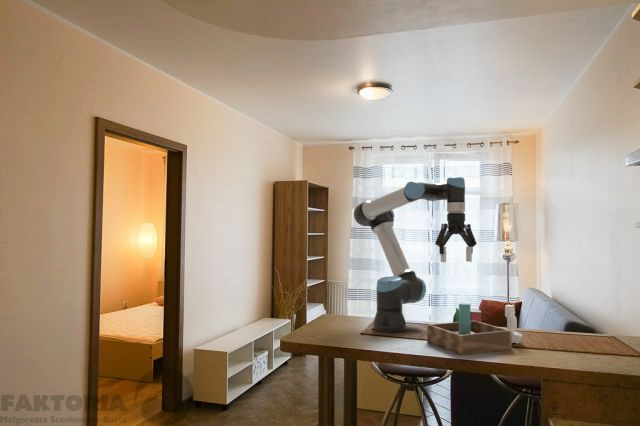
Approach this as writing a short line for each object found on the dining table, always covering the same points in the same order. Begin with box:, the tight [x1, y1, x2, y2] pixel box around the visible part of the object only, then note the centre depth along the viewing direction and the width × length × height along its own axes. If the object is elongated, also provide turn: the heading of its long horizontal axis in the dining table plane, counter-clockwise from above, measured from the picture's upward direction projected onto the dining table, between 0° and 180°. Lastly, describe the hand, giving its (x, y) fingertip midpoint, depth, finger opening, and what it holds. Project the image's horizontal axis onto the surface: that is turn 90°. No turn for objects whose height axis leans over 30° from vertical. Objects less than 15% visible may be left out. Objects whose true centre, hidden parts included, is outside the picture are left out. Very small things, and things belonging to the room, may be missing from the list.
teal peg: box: [458, 302, 471, 335], centre depth 170 cm, size 4×4×15 cm
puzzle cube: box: [455, 307, 483, 323], centre depth 190 cm, size 10×10×10 cm
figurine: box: [504, 304, 524, 345], centre depth 173 cm, size 7×9×15 cm
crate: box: [426, 321, 513, 356], centre depth 168 cm, size 20×24×7 cm
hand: (456, 261), depth 184 cm, fingers open, 13 cm apart
